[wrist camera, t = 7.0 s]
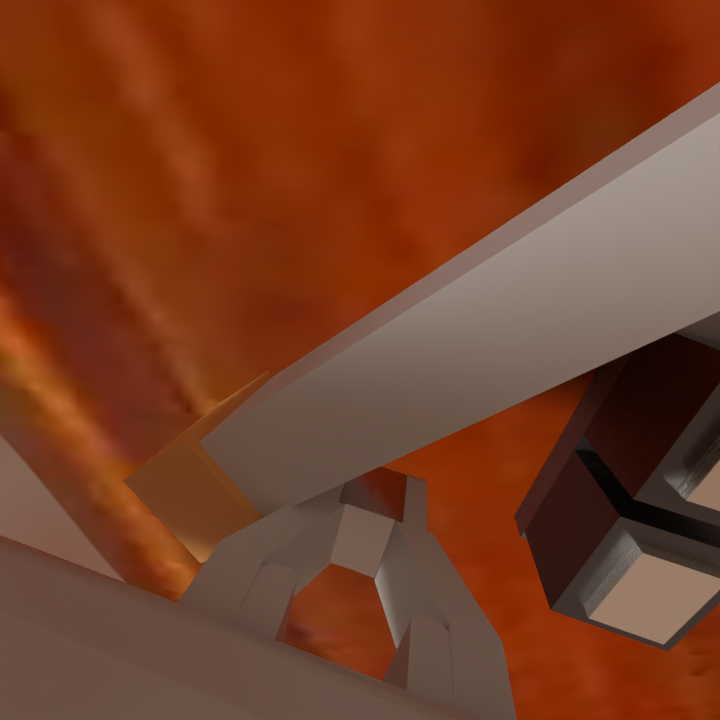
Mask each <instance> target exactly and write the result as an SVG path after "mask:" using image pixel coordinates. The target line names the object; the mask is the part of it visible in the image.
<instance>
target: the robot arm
mask: <svg viewBox="0 0 720 720" xmlns="http://www.w3.org/2000/svg"><path fill="white" fill-rule="evenodd" d="M329 562H330V563H333V564H336V565H339V566H343V567H346V568H349V569H352V570H355V571H357V572H360V573H362V574H365V575H368V576H370V577H373V578H375V583H376V586H377V589H378V592H379V596H380V599H381V602H382V605H383V608H384V611H385V614H386V618H387V621H388V624H389V627H390V630H391V633H392V636H393V639H394V643H395V646H396V649H397V651H396V653H395V655H394V657H393V659H392V661H391V664H390V666H389V668H388V670H387V672H386V674H385V677H384V679H383V681H381V680H378V679H376V678H373V677H370V676H368V675H365V674H363V673H360V672H357V671H355V670H352V669H349V668H347V667H344V666H342V665H339V664H336V663H334V662H331V661H329V660H326V659H323V658H321V657H318V656H315V655H313V654H310V653H308V652H305V651H302V650H300V649H297V648H294V647H292V646H289V645H287V644H284V643H283V639H284V635H285V630H286V626H287V622H288V617H289V613H290V609H291V604H292V600H293V597H294V596H295V595H296V594H297V593H298V592H300V591H301V590H302V589H303V588H304V587H305V586H306V585H307V584H308V583H309V582H310V581H312V580H313V579H314V578H315V577H316V576H317V575H318V574H319V573H320V572H321V571H322V570H324V569H325V568H326V567H327V566H328V565H329ZM0 720H517V719H516V714H515V708H514V703H513V697H512V692H511V686H510V681H509V676H508V670H507V665H506V659H505V654H504V649H503V643H502V641H501V639H500V638H499V636H498V634H497V633H496V631H495V630H494V628H493V627H492V625H491V624H490V622H489V620H488V619H487V617H486V616H485V614H484V613H483V611H482V609H481V608H480V606H479V605H478V603H477V602H476V600H475V598H474V597H473V595H472V594H471V592H470V591H469V589H468V587H467V586H466V584H465V583H464V581H463V580H462V578H461V577H460V575H459V573H458V572H457V570H456V569H455V567H454V566H453V564H452V562H451V561H450V559H449V558H448V556H447V555H446V553H445V551H444V550H443V548H442V547H441V545H440V544H439V542H438V540H437V539H436V537H435V536H434V534H433V533H430V532H427V482H426V480H425V479H421V478H418V477H414V476H411V475H407V474H406V475H405V474H402V473H399V472H396V471H392V470H390V469H387V468H384V467H381V466H380V467H378V468H376V469H374V470H371V471H369V472H367V473H365V474H363V475H360V476H358V477H356V478H354V479H352V480H349V481H347V482H345V483H343V484H341V485H339V486H336V487H334V488H332V489H330V490H328V491H325V492H323V493H321V494H319V495H317V496H315V497H312V498H310V499H308V500H306V501H304V502H301V503H299V504H297V505H295V506H293V507H291V506H288V505H286V506H284V507H282V508H281V509H279V510H277V511H275V512H273V513H271V514H269V515H267V516H266V517H264V518H262V519H260V520H258V521H256V522H254V523H252V524H251V525H249V526H247V527H245V528H243V529H241V530H239V531H238V532H236V533H234V534H232V535H230V536H228V537H226V538H224V539H223V540H221V541H220V542H219V544H218V545H217V547H216V548H215V549H214V551H213V552H212V554H211V555H210V557H209V558H208V559H207V561H206V562H205V564H204V565H203V567H202V568H201V570H200V571H199V572H198V574H197V575H196V577H195V578H194V580H193V581H192V582H191V584H190V585H189V587H188V588H187V590H186V591H185V593H184V594H183V595H182V597H181V598H180V600H179V601H178V603H177V602H174V601H171V600H169V599H166V598H164V597H161V596H158V595H156V594H153V593H151V592H148V591H145V590H143V589H140V588H137V587H135V586H132V585H130V584H127V583H124V582H122V581H119V580H117V579H114V578H111V577H109V576H106V575H103V574H101V573H98V572H96V571H93V570H90V569H88V568H85V567H83V566H80V565H77V564H74V563H72V562H69V561H67V560H64V559H62V558H59V557H56V556H54V555H51V554H48V553H46V552H43V551H41V550H38V549H35V548H33V547H30V546H28V545H25V544H22V543H20V542H17V541H14V540H12V539H9V538H7V537H4V536H1V535H0Z"/></svg>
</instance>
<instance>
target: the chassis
mask: <svg viewBox="0 0 720 720" xmlns="http://www.w3.org/2000/svg"><path fill="white" fill-rule="evenodd" d="M677 331H681V332H684V333H688V334H692V335H695V336H699V337H703V338H706V339H710V340H714V341H718V342H720V311H719V312H717V313H715V314H712V315H710V316H708V317H706V318H704V319H701V320H699V321H697V322H695V323H693V324H690V325H688V326H686V327H684V328H682V329H680V330H677ZM632 353H633V351H631V352H629V353H627V354H625V355H623V356H621V357H618V358H616V359H614V360H612V361H610V362H607V363H605V364H603V365H601V367H600V369H599V370H598V372H597V374H596V376H595V377H594V379H593V381H592V383H591V384H590V386H589V388H588V390H587V391H586V393H585V395H584V397H583V398H582V400H581V402H580V403H579V405H578V407H577V409H576V410H575V412H574V414H573V416H572V417H571V419H570V421H569V423H568V424H567V426H566V428H565V430H564V431H563V433H562V435H561V436H560V438H559V440H558V442H557V443H556V445H555V447H554V449H553V450H552V452H551V454H550V456H549V457H548V459H547V461H546V463H545V464H544V466H543V468H542V469H541V471H540V473H539V475H538V476H537V478H536V480H535V482H534V483H533V485H532V487H531V489H530V490H529V492H528V494H527V496H526V497H525V499H524V501H523V503H522V504H521V506H520V508H519V509H518V511H517V513H516V515H515V516H514V517H515V520H516V524H517V527H518V530H519V533H520V536H521V538H524V539H527V537H526V534H525V529H526V528H527V526H528V525H529V523H530V521H531V520H532V518H533V516H534V515H535V513H536V511H537V510H538V508H539V506H540V505H541V503H542V501H543V500H544V498H545V496H546V495H547V493H548V492H549V490H550V488H551V487H552V485H553V483H554V482H555V480H556V478H557V477H558V475H559V473H560V472H561V470H562V468H563V467H564V465H565V463H566V462H567V460H568V458H569V457H570V455H571V454H572V452H573V450H578V451H581V452H584V453H587V454H590V455H594V456H597V457H600V456H599V455H598V454H597V453H596V451H595V450H594V449H593V448H592V446H591V445H590V444H589V442H588V441H587V440H586V439H585V437H584V436H583V434H584V432H585V430H586V429H587V427H588V425H589V424H590V422H591V421H592V419H593V417H594V416H595V414H596V412H597V411H598V409H599V407H600V406H601V404H602V402H603V401H604V399H605V397H606V396H607V394H608V392H609V391H610V389H611V388H612V386H613V384H614V383H615V381H616V379H617V378H618V376H619V374H620V373H621V371H622V369H623V368H624V366H625V364H626V363H627V361H628V359H629V358H630V356H631V354H632ZM719 604H720V603H719Z"/></svg>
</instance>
